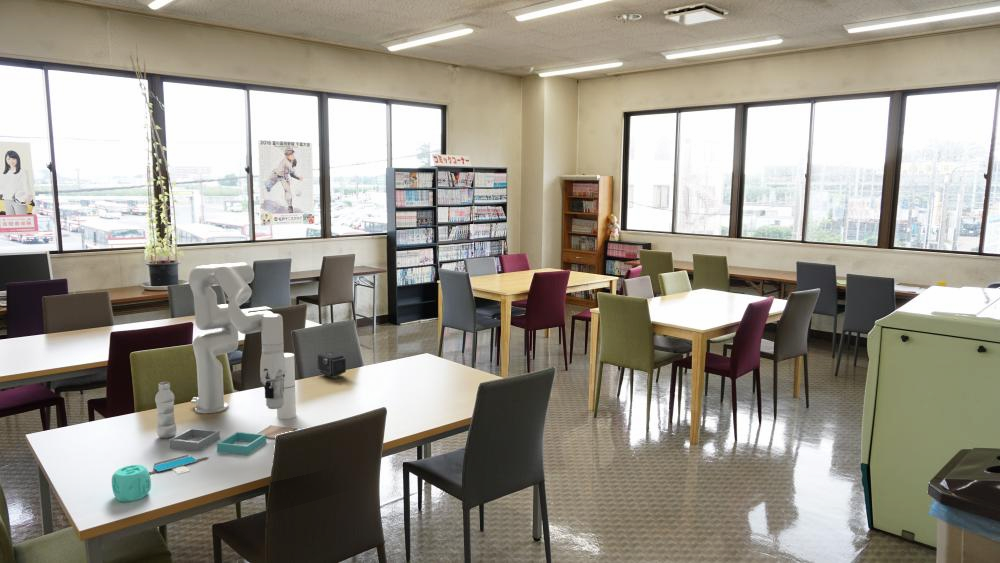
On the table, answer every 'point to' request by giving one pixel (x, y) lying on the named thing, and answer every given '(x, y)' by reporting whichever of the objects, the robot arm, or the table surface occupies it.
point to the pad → (275, 431)
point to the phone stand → (175, 464)
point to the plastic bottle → (165, 411)
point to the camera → (331, 364)
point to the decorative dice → (131, 483)
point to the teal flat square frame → (229, 447)
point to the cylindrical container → (288, 390)
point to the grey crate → (182, 442)
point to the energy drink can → (276, 392)
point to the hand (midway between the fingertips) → (274, 395)
